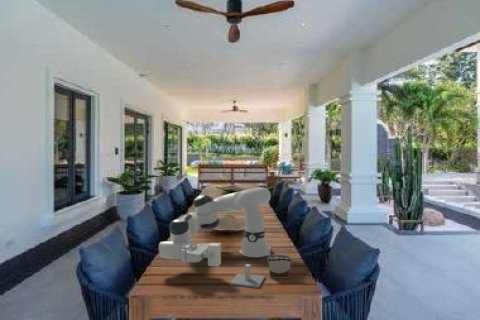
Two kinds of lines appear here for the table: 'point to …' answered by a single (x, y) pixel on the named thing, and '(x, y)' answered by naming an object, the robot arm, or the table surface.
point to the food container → (279, 266)
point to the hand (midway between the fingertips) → (215, 253)
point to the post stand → (247, 279)
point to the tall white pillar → (216, 250)
